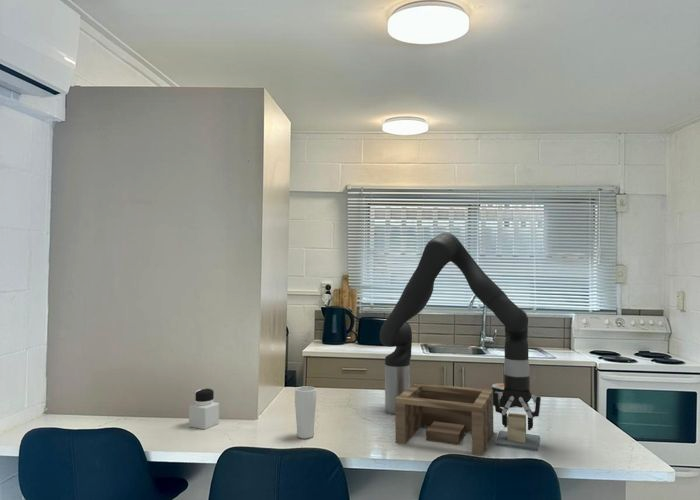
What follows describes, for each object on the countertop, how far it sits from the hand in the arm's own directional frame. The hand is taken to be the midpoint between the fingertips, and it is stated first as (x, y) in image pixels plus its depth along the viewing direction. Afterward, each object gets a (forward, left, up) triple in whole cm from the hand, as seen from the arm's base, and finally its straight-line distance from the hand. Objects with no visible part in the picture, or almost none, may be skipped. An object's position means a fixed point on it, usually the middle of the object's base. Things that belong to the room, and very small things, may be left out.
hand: (517, 427), depth 152 cm
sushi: (-41, -9, -4) cm, 42 cm away
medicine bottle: (+26, -99, -4) cm, 102 cm away
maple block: (0, 0, -3) cm, 3 cm away
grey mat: (0, 0, -4) cm, 4 cm away
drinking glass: (+22, -62, -4) cm, 66 cm away
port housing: (+5, -21, -4) cm, 22 cm away
